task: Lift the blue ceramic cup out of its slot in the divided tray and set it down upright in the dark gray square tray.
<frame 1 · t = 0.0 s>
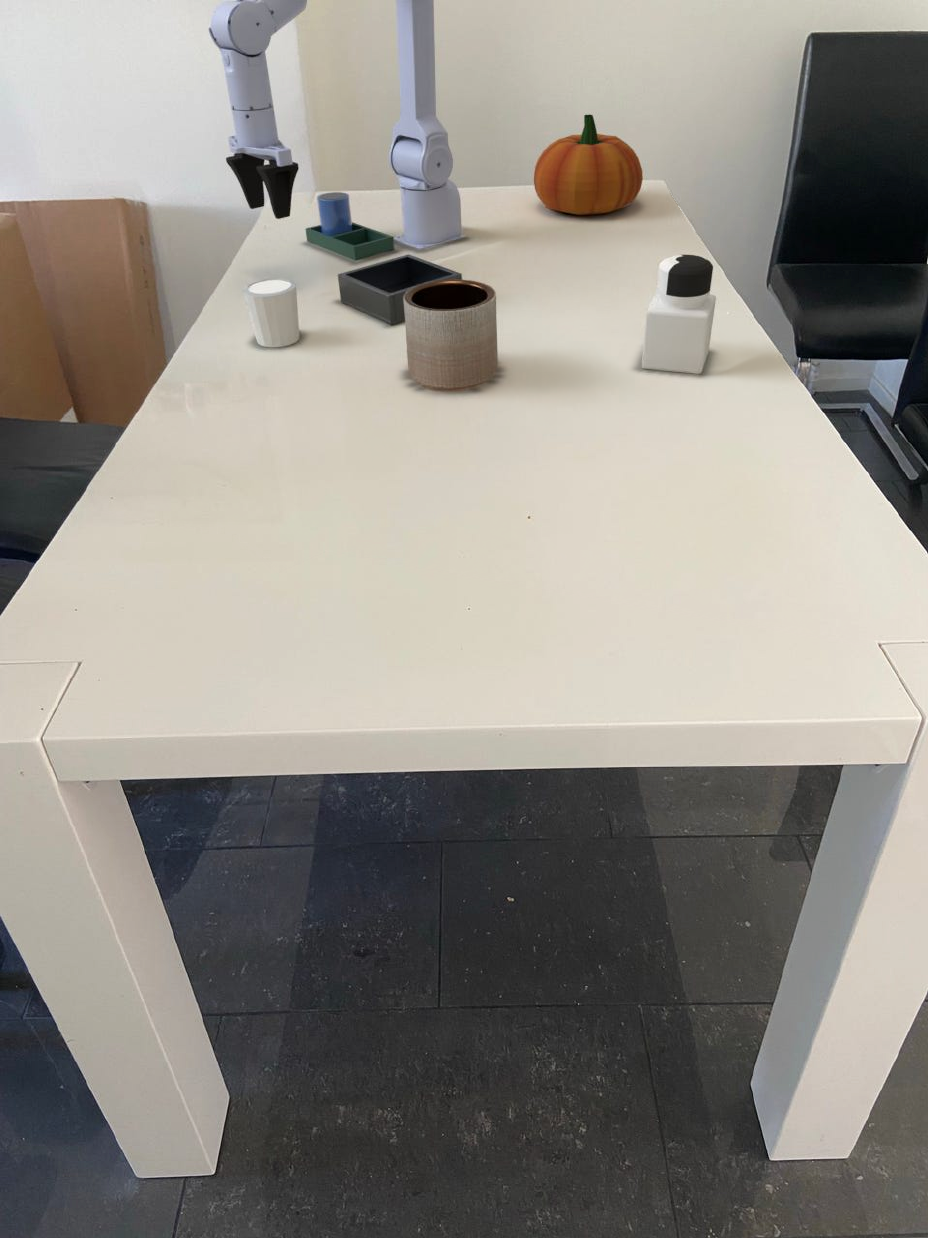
hand: (269, 212, 132), 10 cm above the table, tool pointing down, fingers open, 7 cm apart
white jar candle: (278, 340, 120), on the table
divided tray: (350, 247, 150), on the table
dark gray square tray: (401, 302, 129), on the table
cup: (338, 240, 152), resting on divided tray
medicine bottle: (675, 361, 110), on the table
pumpkin: (586, 208, 164), on the table
planter: (453, 374, 109), on the table
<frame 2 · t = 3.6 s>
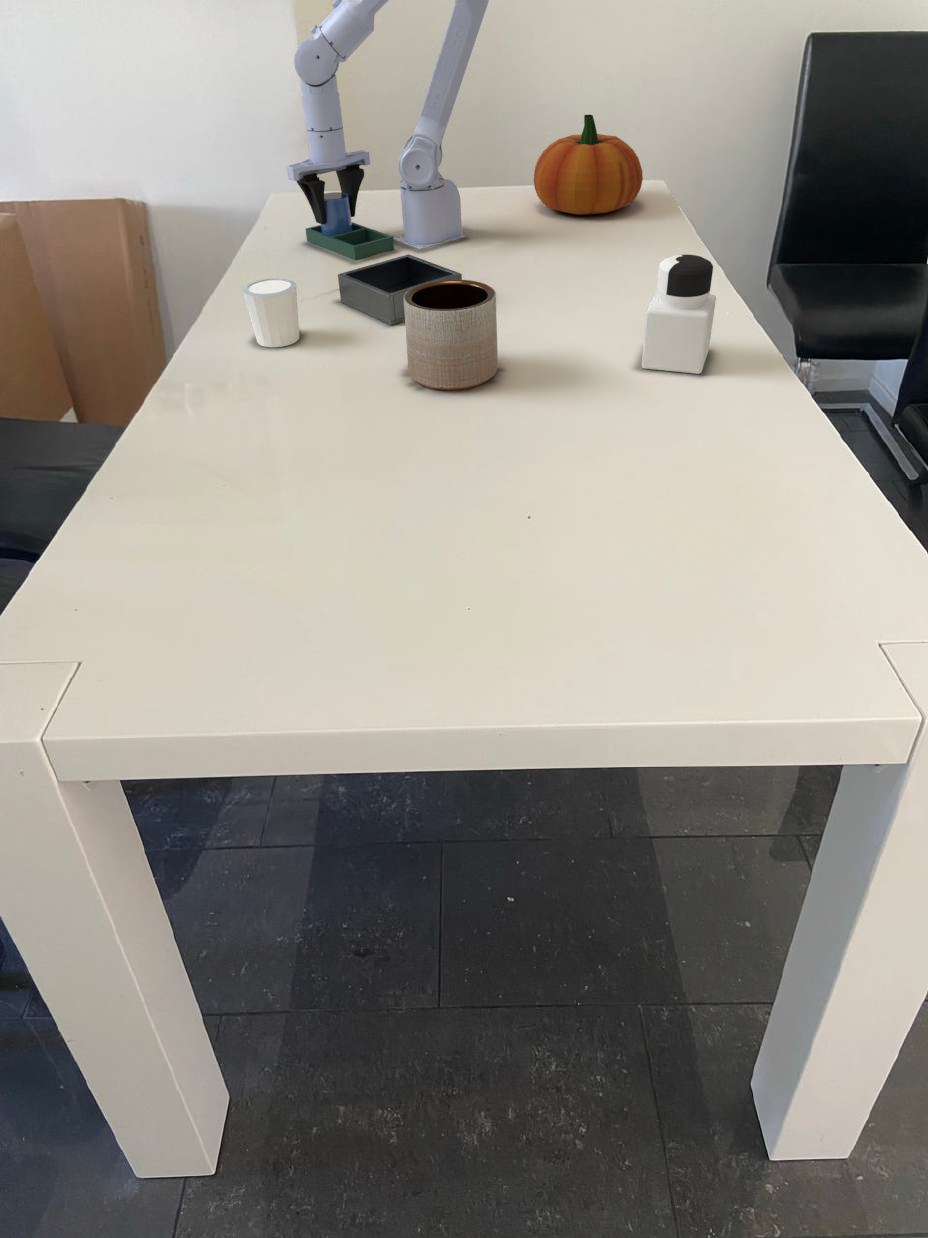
hand: (335, 219, 150), 4 cm above the table, tool pointing down, fingers closed on cup, 5 cm apart
cup: (338, 240, 152), point 1 cm above the table, touching divided tray, gripper
everything else where it was.
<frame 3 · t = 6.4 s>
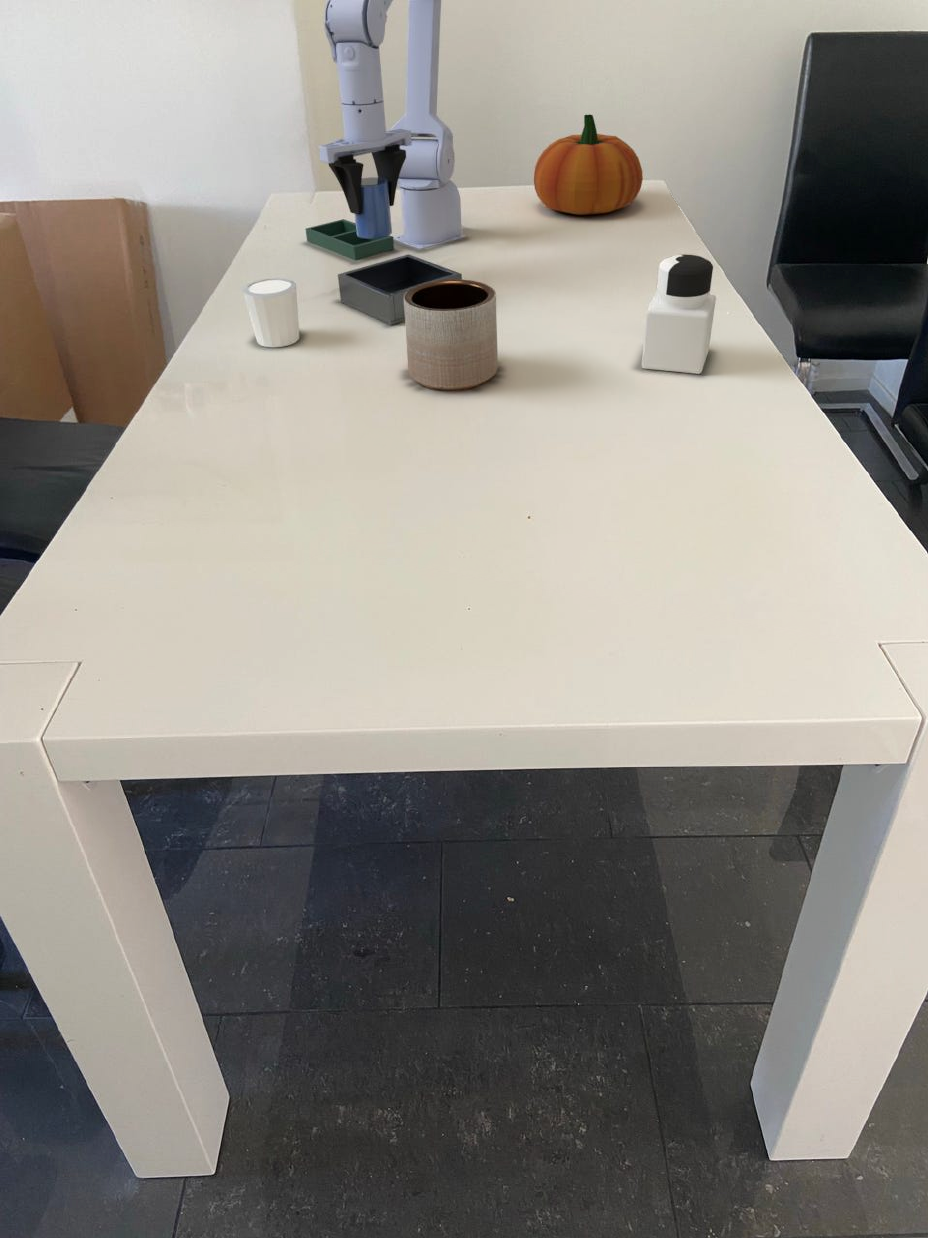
hand: (372, 208, 129), 10 cm above the table, tool pointing down, fingers closed on cup, 5 cm apart
cup: (374, 233, 132), point 7 cm above the table, touching gripper
everything else where it was.
when the fingers open (4 cm above the table, at t = 9.3 s): cup stays where it is, resting on dark gray square tray.
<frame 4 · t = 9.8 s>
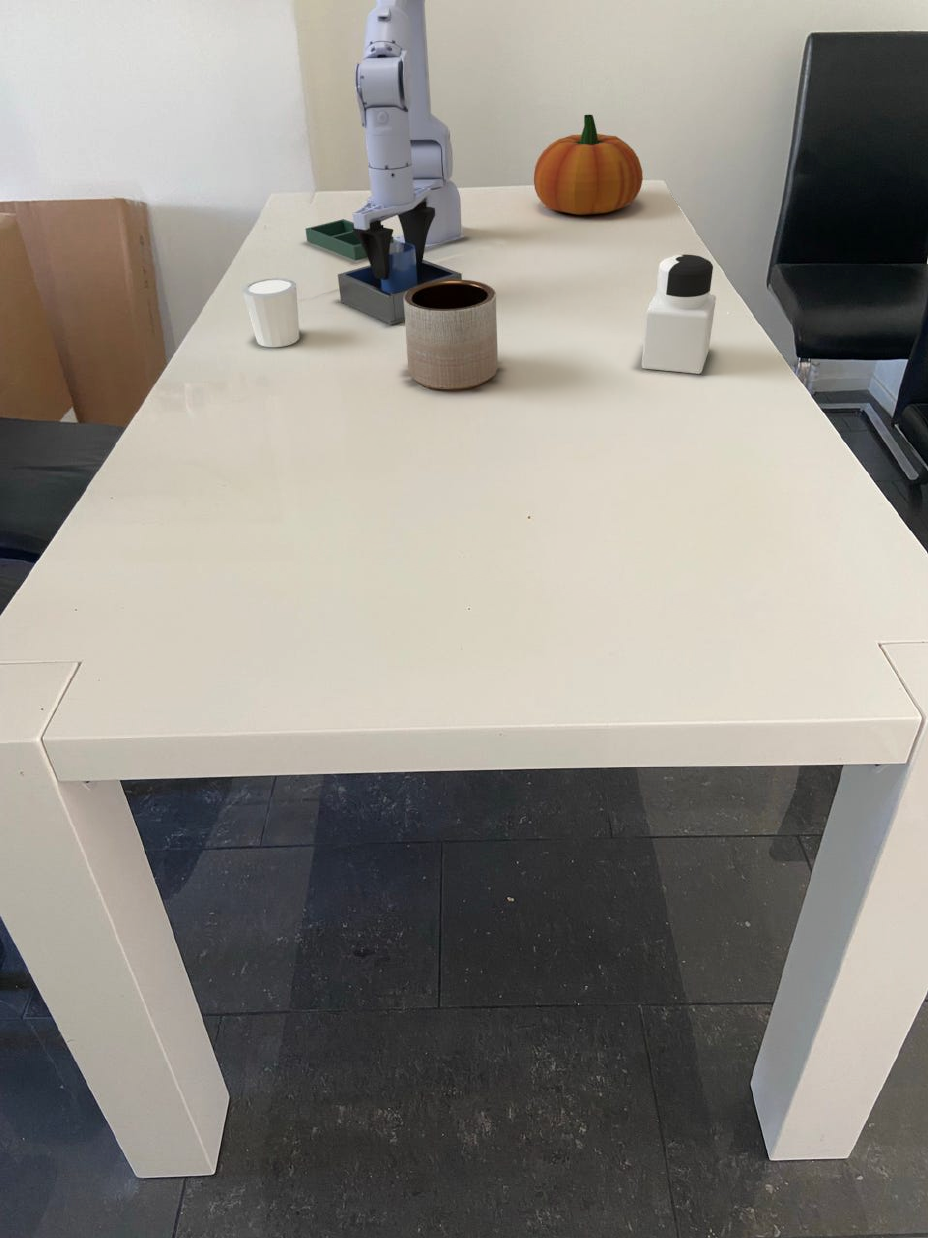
hand: (398, 270, 126), 5 cm above the table, tool pointing down, fingers open, 7 cm apart
cup: (400, 298, 129), resting on dark gray square tray
everything else where it was.
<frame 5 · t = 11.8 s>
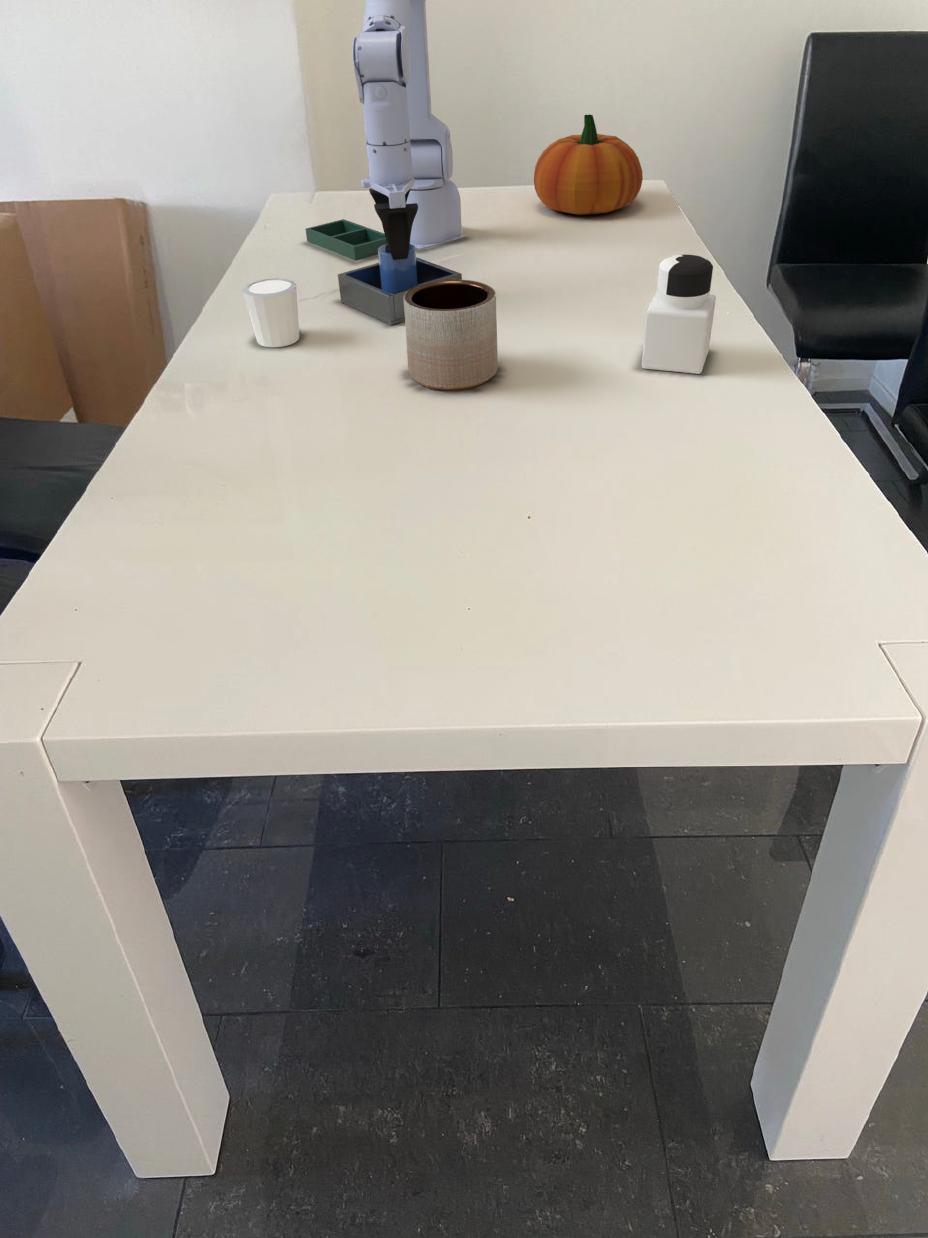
hand: (397, 250, 124), 7 cm above the table, tool pointing down, fingers open, 7 cm apart
nothing on the table moved.
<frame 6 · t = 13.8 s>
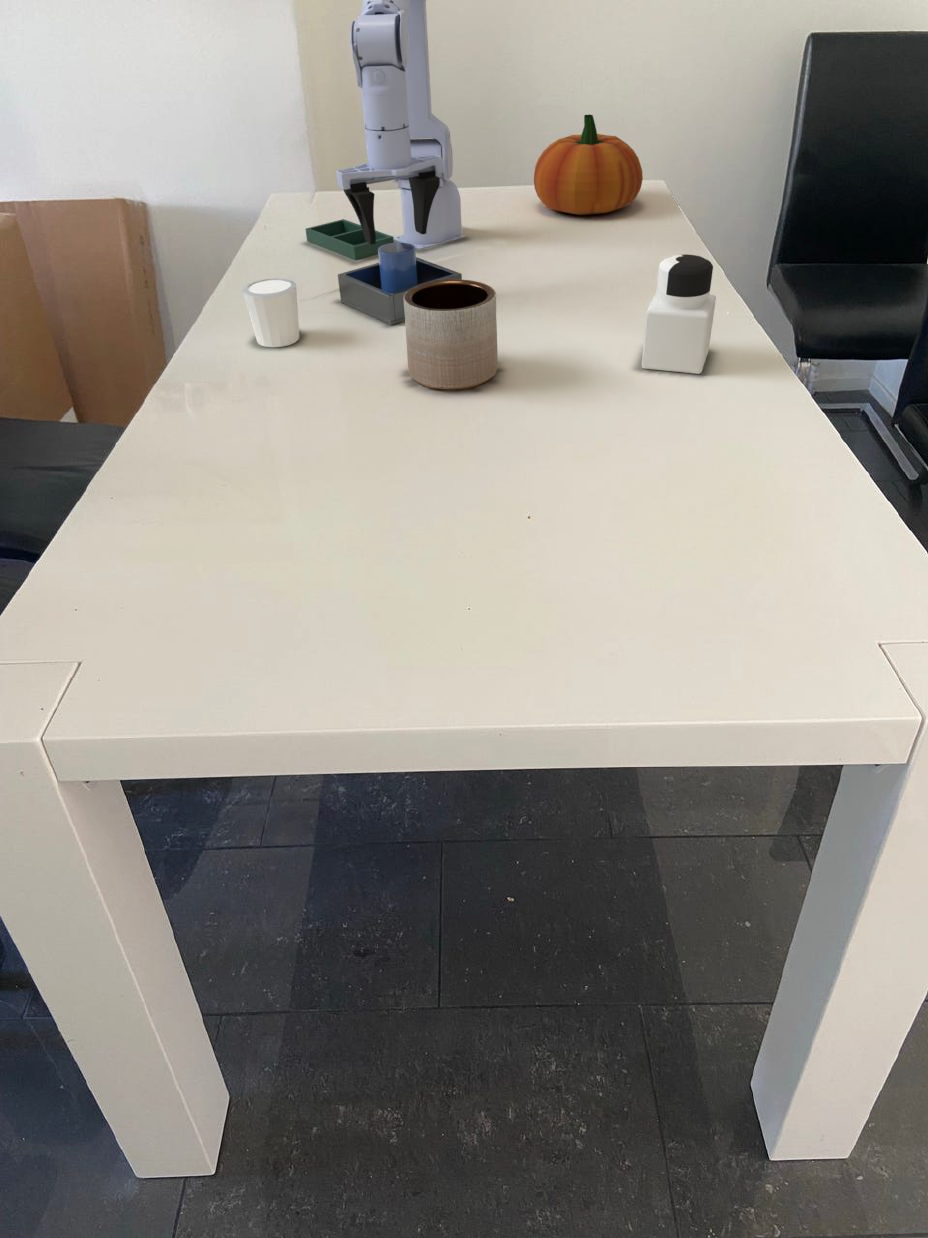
hand: (396, 237, 123), 9 cm above the table, tool pointing down, fingers open, 7 cm apart
nothing on the table moved.
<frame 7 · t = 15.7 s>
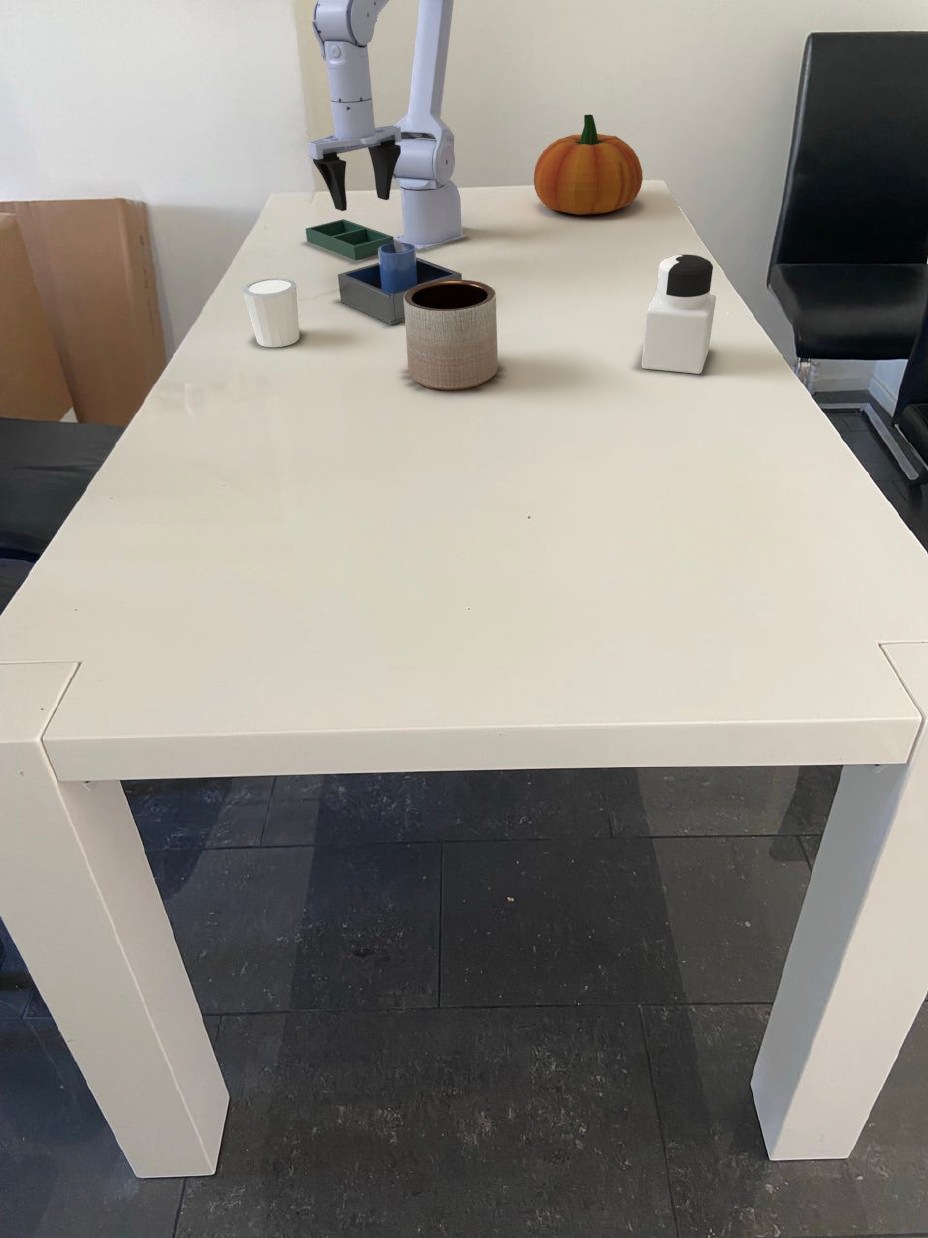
hand: (362, 203, 132), 10 cm above the table, tool pointing down, fingers open, 7 cm apart
nothing on the table moved.
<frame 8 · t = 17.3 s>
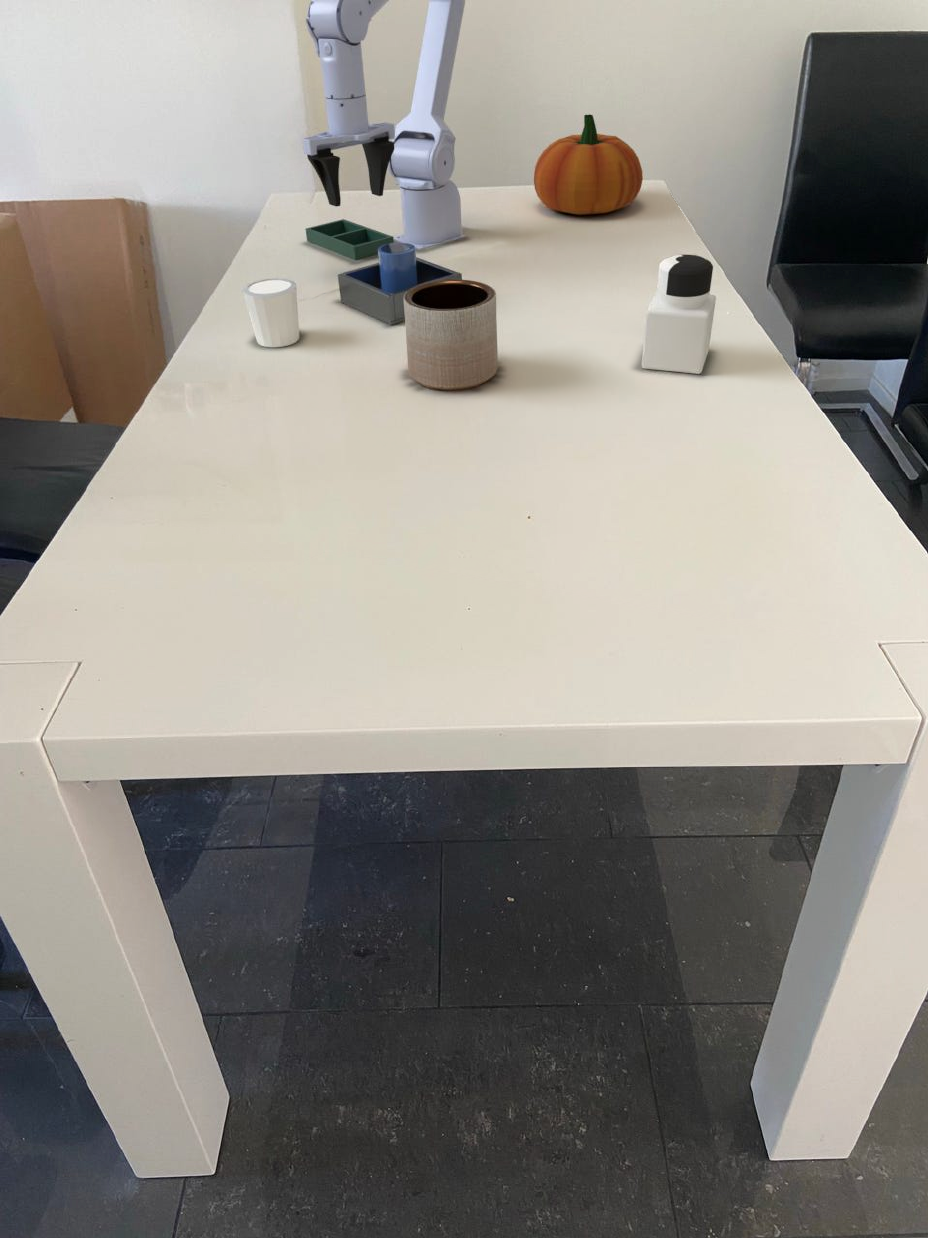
hand: (356, 199, 134), 10 cm above the table, tool pointing down, fingers open, 7 cm apart
nothing on the table moved.
at the end: cup inside the target area in the dark gray square tray (0.1 cm from its centre), point 0.5 cm above the dark gray square tray's base; cup tilted 0°; the gripper is holding nothing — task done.
